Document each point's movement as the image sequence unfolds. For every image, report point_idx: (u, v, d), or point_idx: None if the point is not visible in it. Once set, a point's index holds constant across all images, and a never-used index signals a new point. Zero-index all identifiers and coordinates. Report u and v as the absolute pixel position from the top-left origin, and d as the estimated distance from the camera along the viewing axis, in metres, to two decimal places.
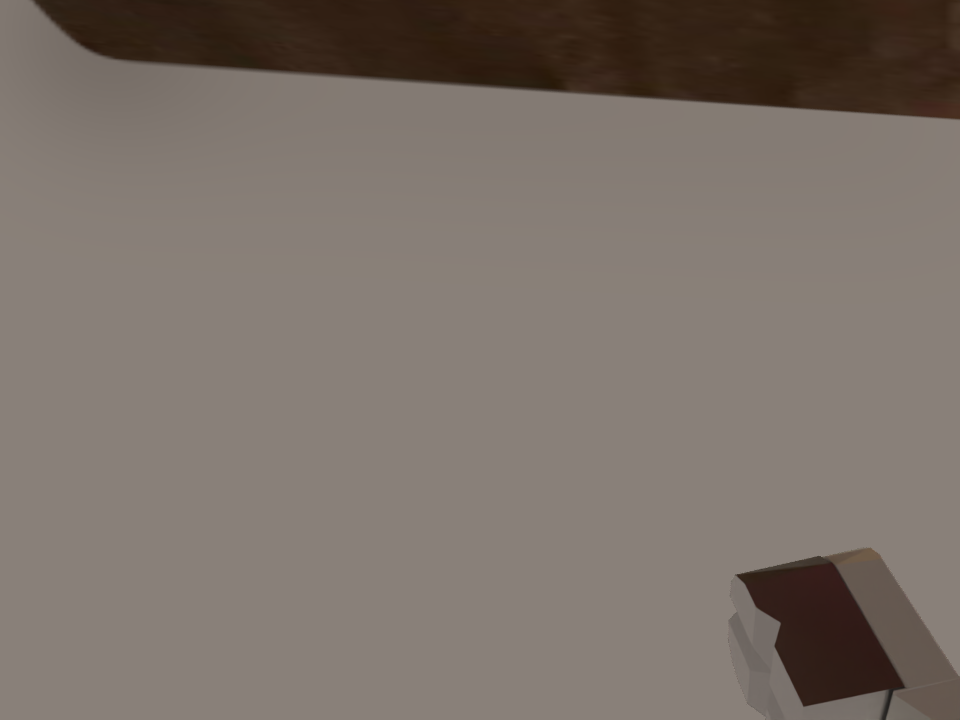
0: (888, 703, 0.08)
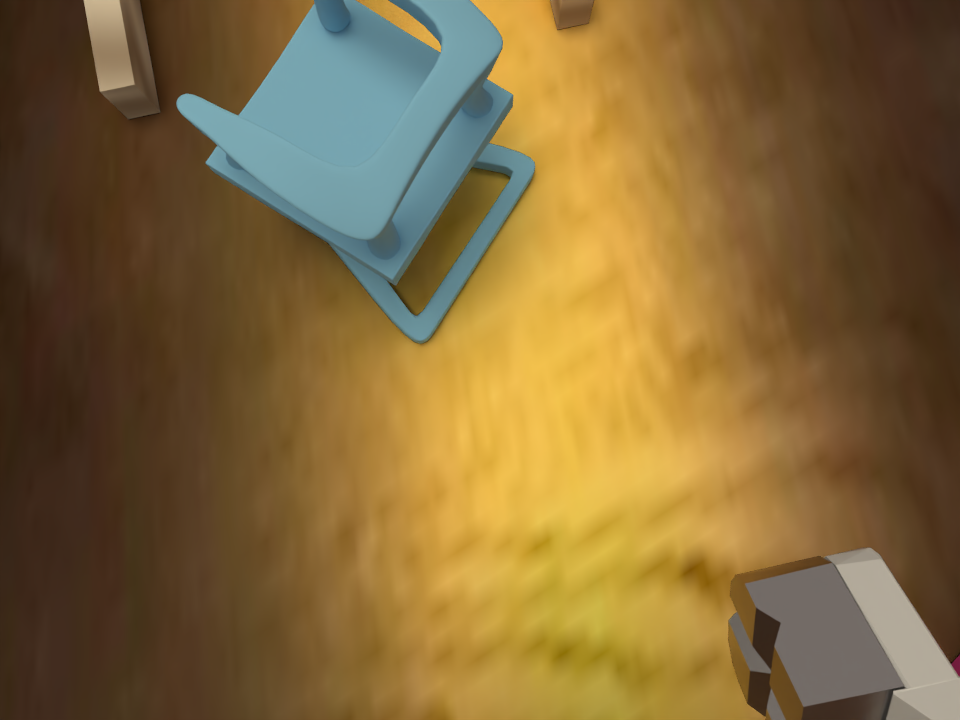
0: (888, 703, 0.08)
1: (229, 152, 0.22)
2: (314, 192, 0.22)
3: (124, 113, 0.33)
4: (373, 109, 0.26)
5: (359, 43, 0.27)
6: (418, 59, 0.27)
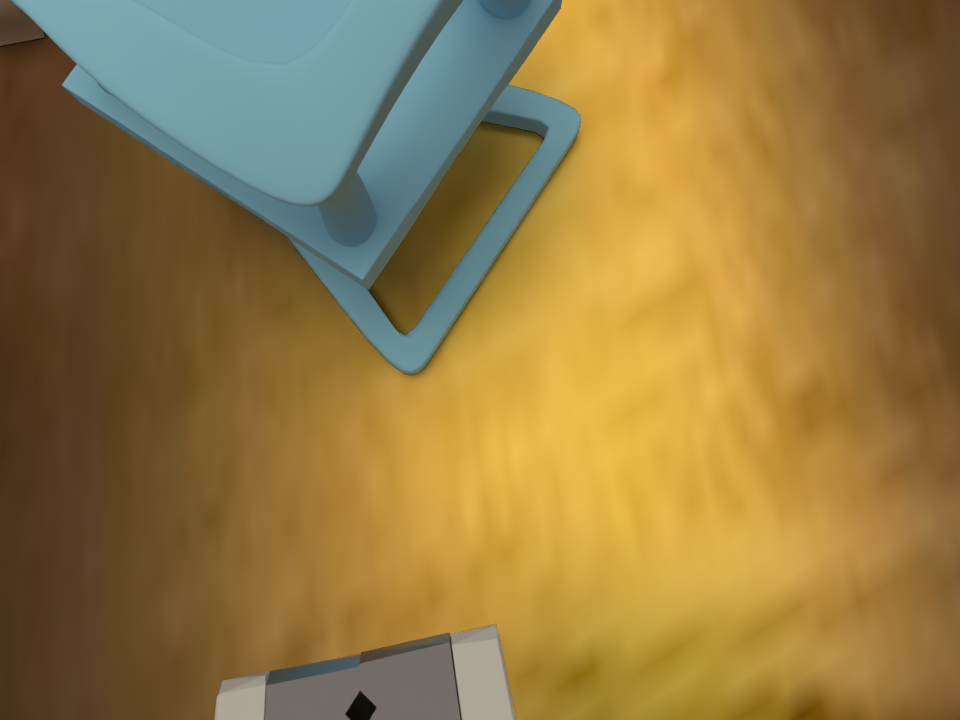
0: None
1: (58, 39, 0.12)
2: (209, 113, 0.12)
3: None
4: (337, 3, 0.16)
5: None
6: None
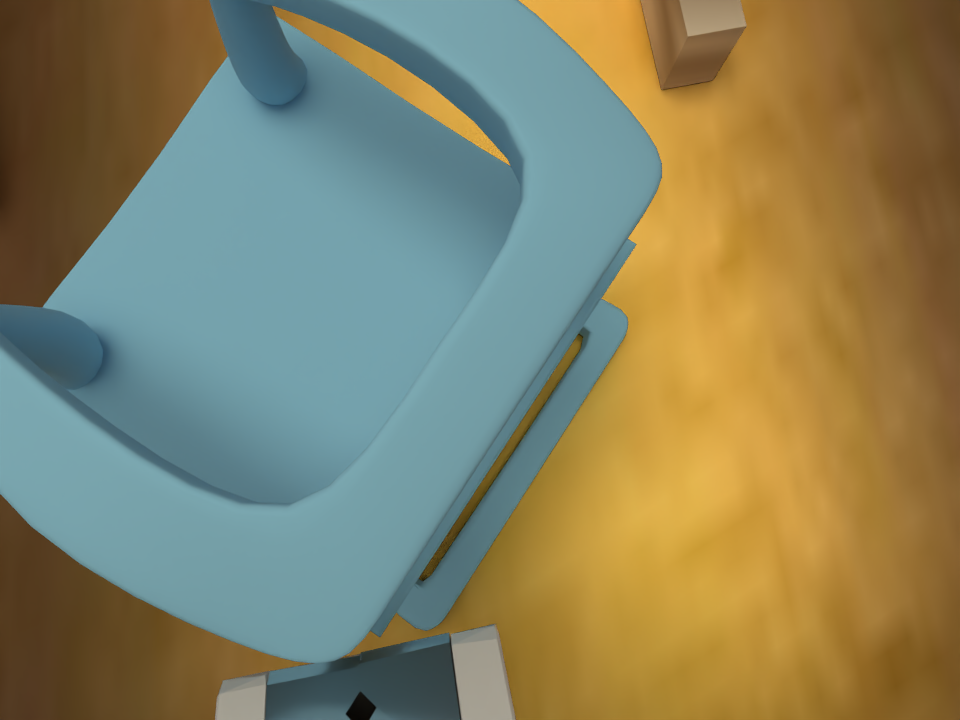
0: None
1: None
2: (176, 564, 0.08)
3: None
4: (348, 265, 0.13)
5: (323, 130, 0.13)
6: (443, 165, 0.13)
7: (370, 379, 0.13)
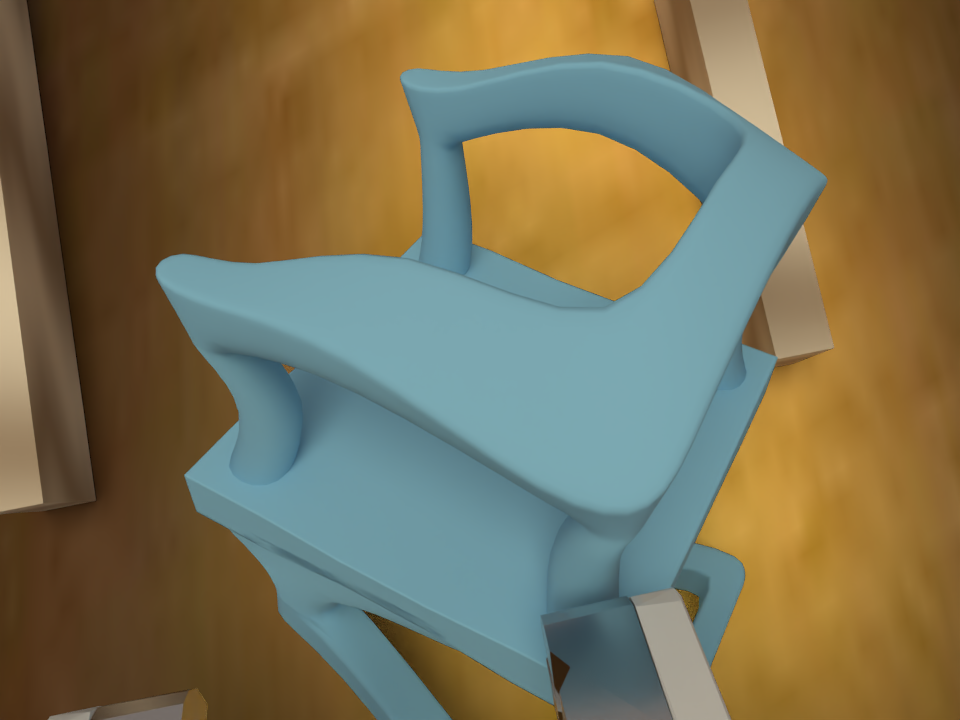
0: None
1: (273, 317, 0.09)
2: (494, 377, 0.08)
3: (35, 511, 0.20)
4: None
5: None
6: None
7: None
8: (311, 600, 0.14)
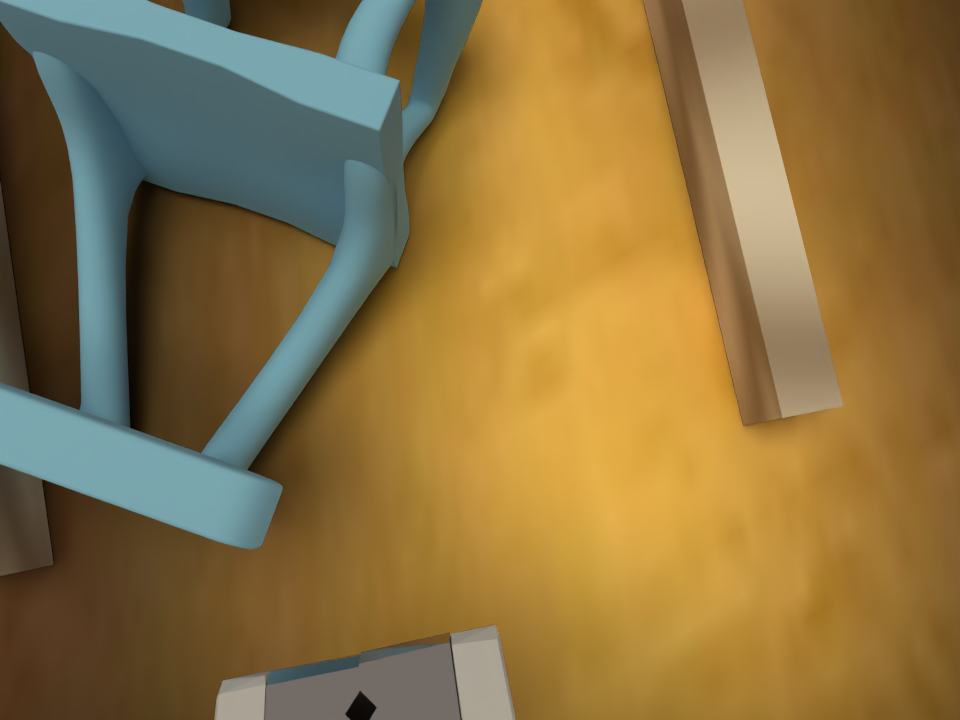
0: None
1: None
2: None
3: None
4: None
5: None
6: None
7: None
8: None
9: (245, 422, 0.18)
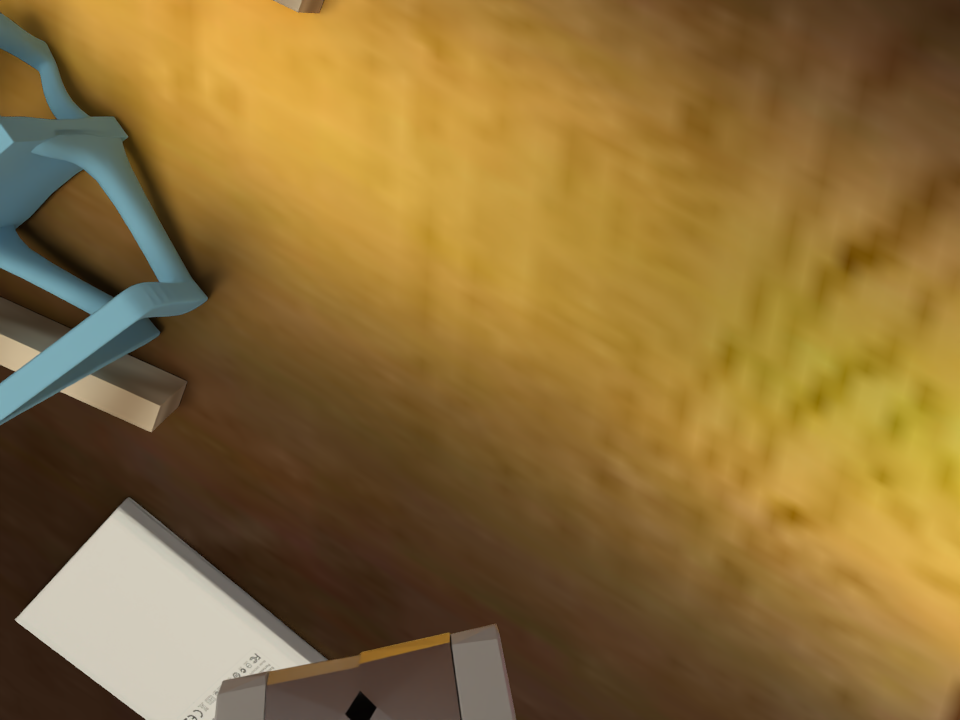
0: None
1: None
2: None
3: (173, 410, 0.36)
4: None
5: None
6: None
7: None
8: (29, 280, 0.33)
9: (158, 263, 0.33)
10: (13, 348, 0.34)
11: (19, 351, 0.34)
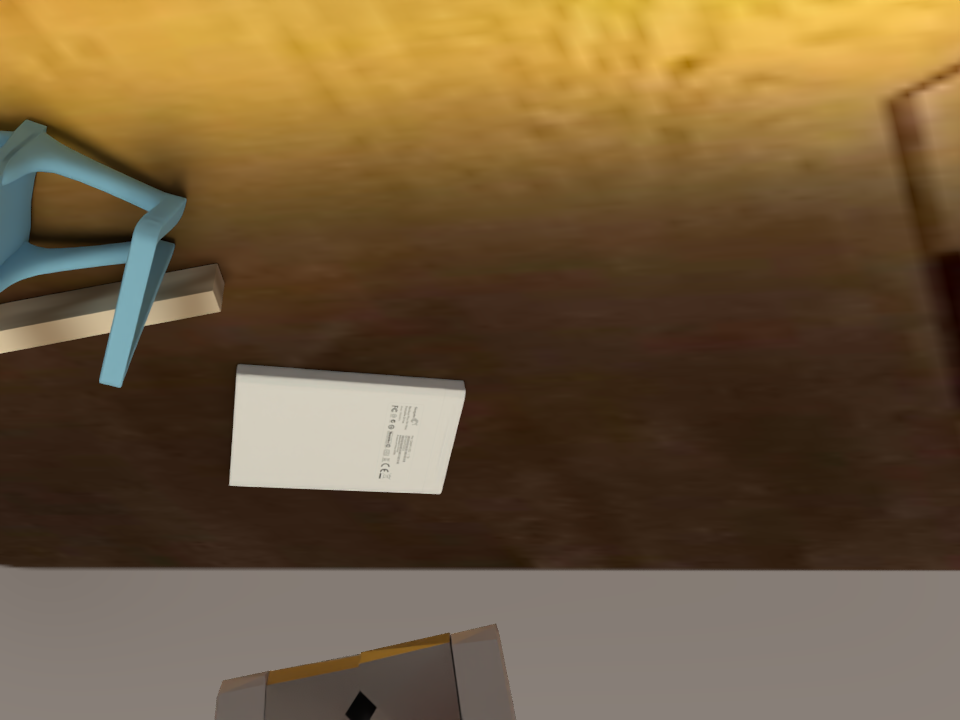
0: None
1: None
2: None
3: (223, 288, 0.45)
4: None
5: None
6: None
7: None
8: None
9: (136, 199, 0.41)
10: (93, 319, 0.43)
11: (98, 318, 0.43)
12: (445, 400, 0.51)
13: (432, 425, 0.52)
